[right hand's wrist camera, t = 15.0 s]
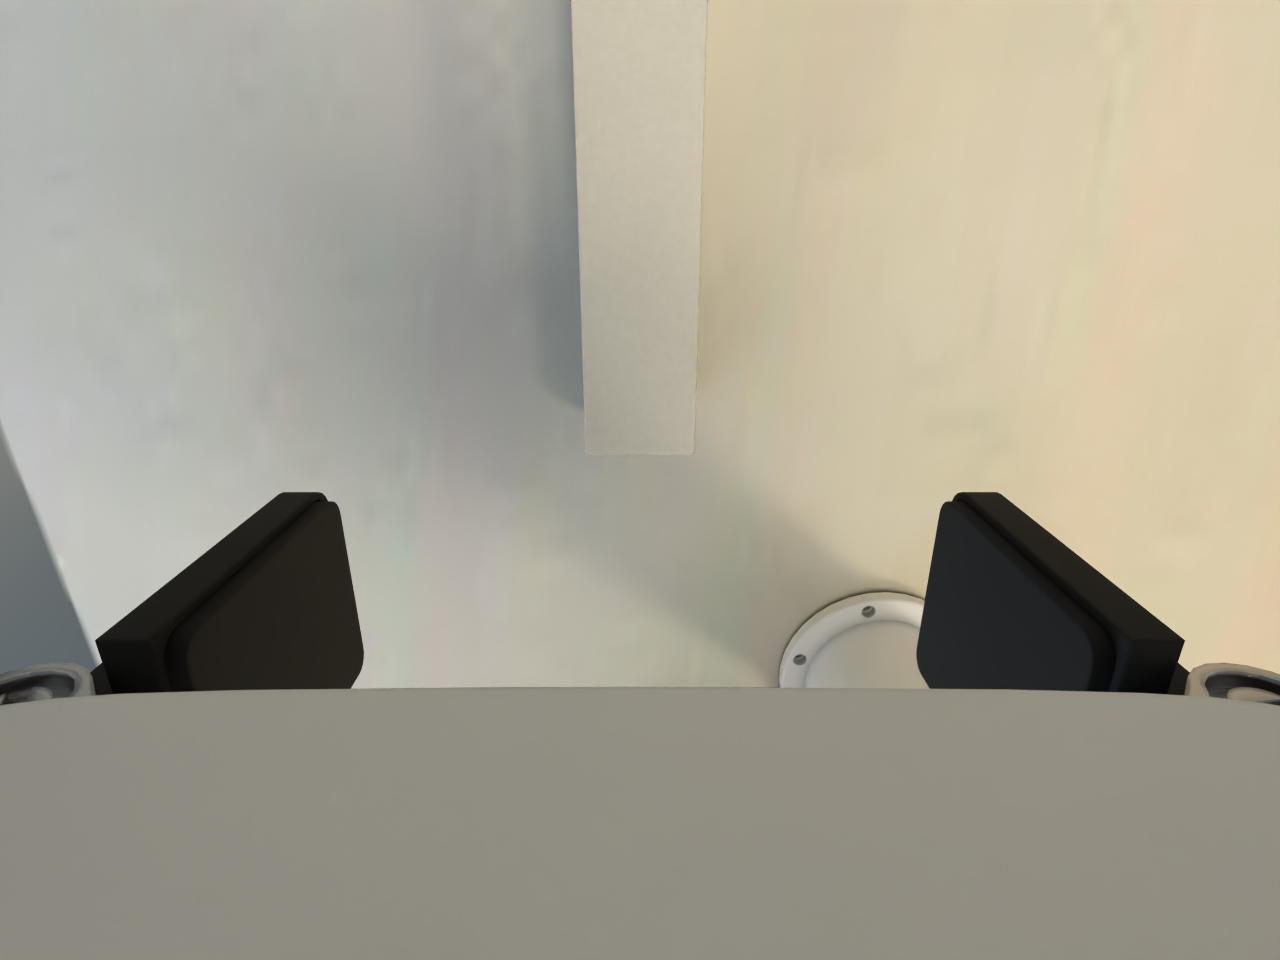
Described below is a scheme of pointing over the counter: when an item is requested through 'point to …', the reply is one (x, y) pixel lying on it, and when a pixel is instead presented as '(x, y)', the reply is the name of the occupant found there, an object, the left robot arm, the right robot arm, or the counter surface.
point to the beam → (639, 218)
